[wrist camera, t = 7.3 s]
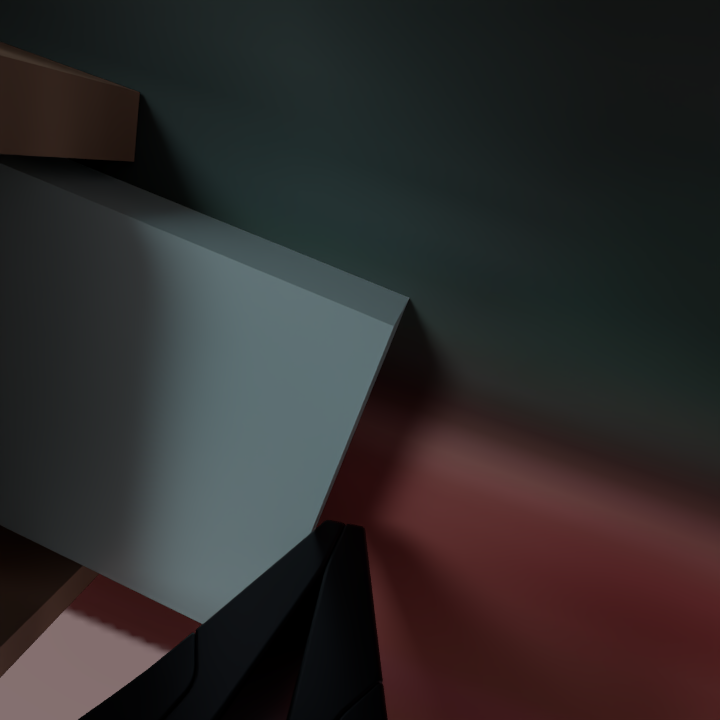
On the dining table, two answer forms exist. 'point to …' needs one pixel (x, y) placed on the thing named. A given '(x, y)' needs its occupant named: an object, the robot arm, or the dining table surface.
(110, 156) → the low shelf
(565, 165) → the dining table surface
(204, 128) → the dining table surface
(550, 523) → the dining table surface
